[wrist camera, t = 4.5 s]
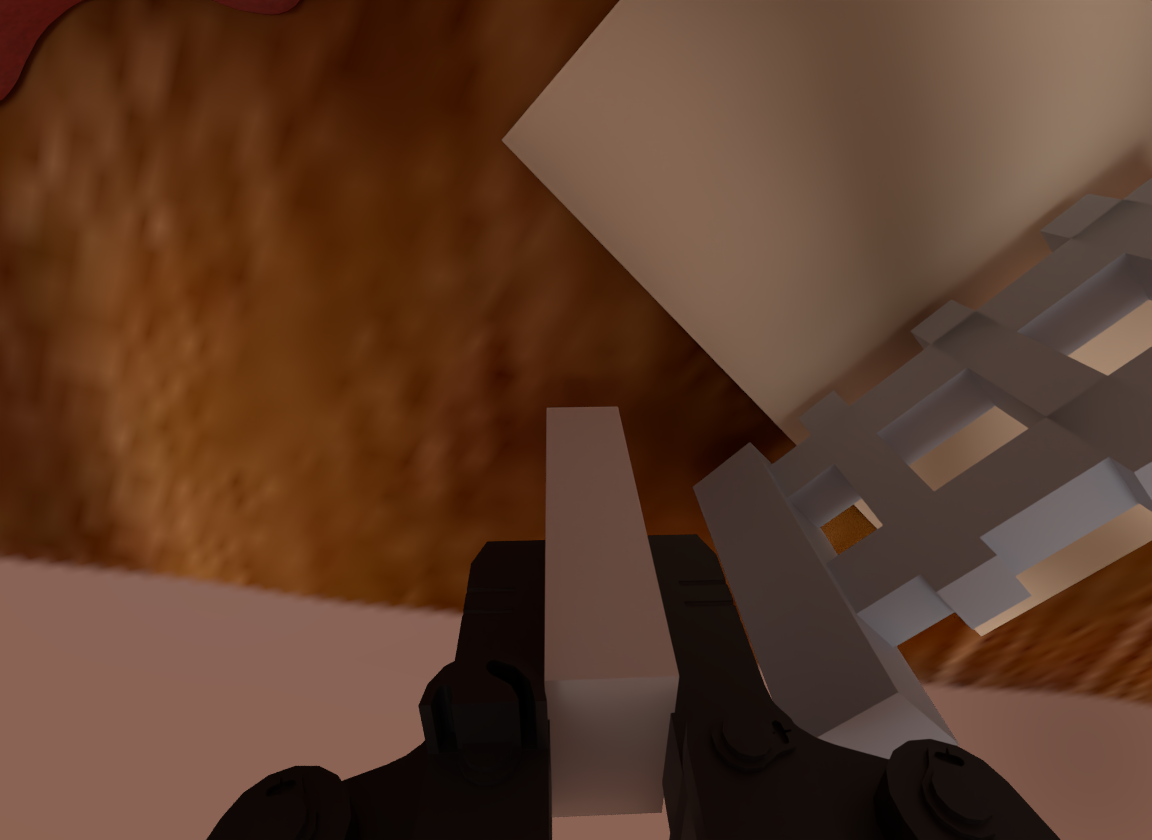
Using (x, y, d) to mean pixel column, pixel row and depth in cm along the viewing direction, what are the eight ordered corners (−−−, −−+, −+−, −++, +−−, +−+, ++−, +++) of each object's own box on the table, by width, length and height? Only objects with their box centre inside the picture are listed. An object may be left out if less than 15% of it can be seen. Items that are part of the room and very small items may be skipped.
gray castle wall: (1159, 121, 11) (1880, 143, 5) (1190, 192, 12) (1864, 285, 6) (692, 486, 15) (791, 752, 9) (736, 525, 15) (856, 796, 9)
